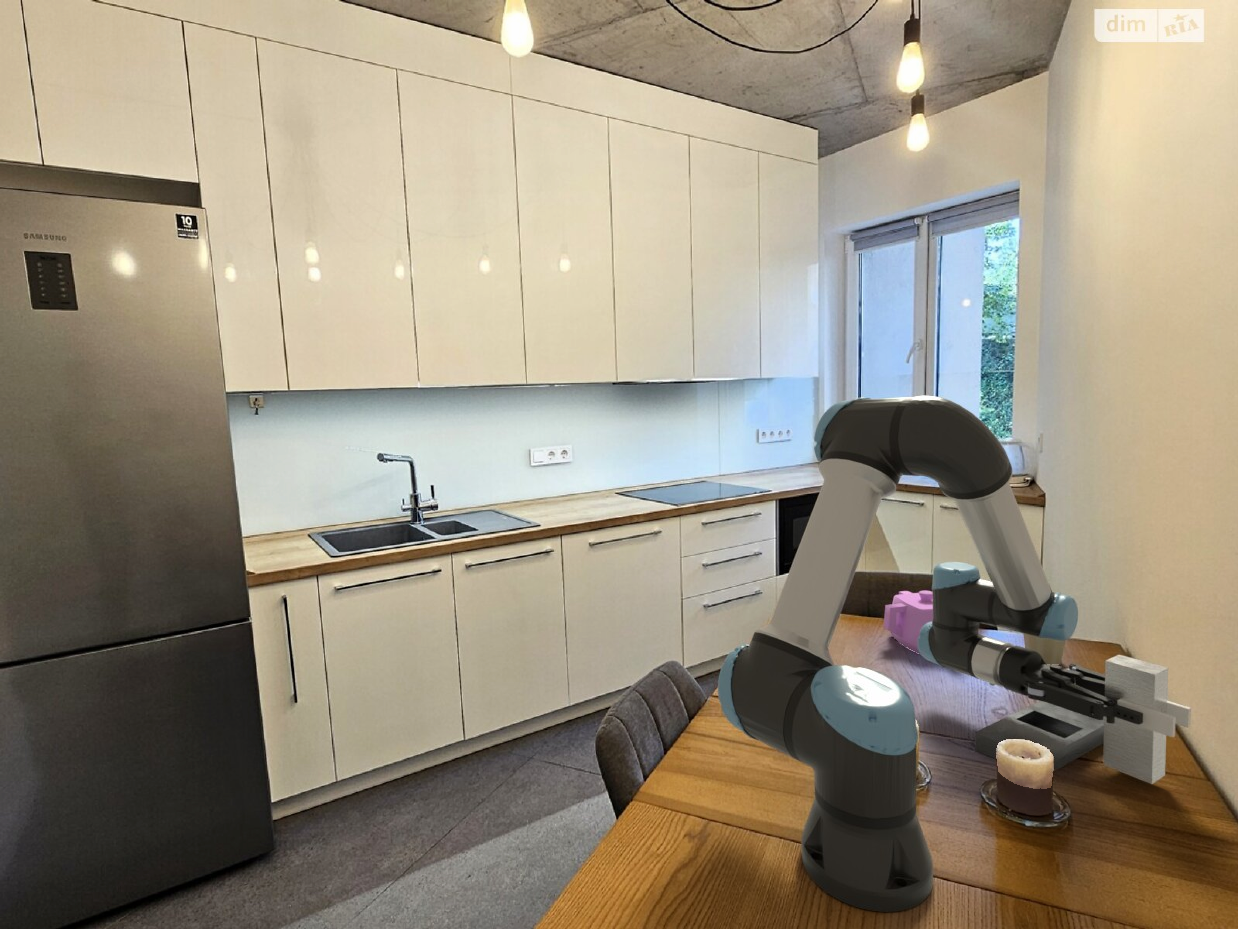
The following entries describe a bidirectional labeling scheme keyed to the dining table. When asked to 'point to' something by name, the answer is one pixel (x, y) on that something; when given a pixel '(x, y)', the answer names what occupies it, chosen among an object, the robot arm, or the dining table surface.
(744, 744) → the dining table surface
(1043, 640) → the flower pot
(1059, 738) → the post stand
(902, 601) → the teakettle
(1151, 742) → the white rectangular block
